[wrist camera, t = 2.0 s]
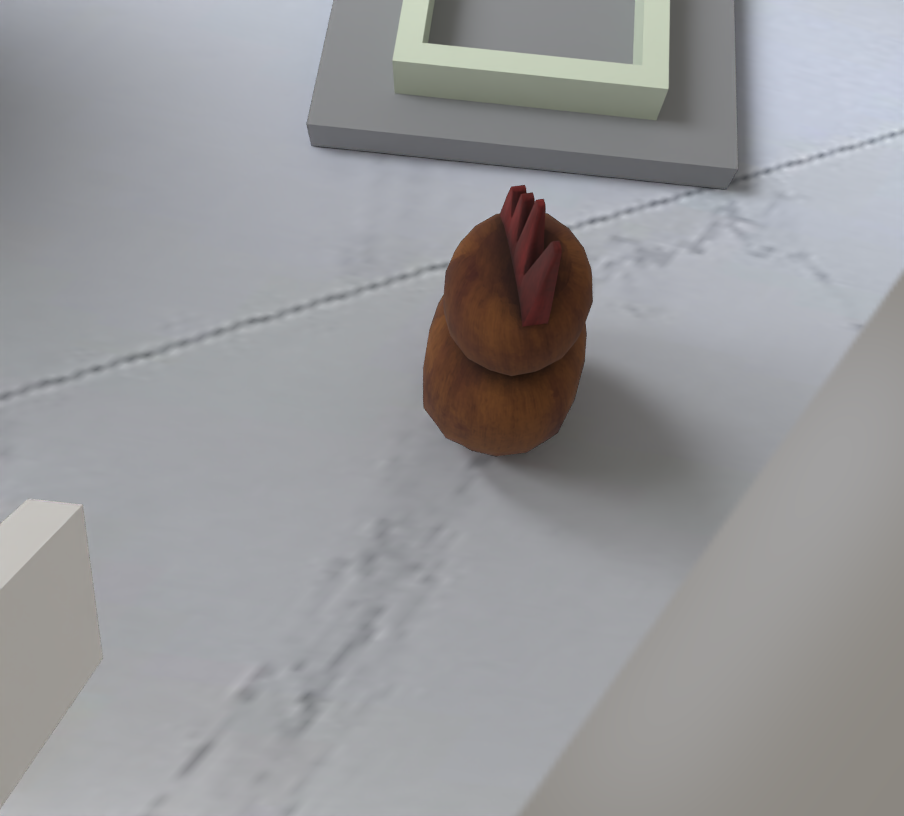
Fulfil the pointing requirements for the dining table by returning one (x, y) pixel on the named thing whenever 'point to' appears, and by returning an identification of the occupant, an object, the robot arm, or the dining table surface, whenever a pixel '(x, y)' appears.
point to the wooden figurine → (509, 331)
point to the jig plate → (536, 85)
